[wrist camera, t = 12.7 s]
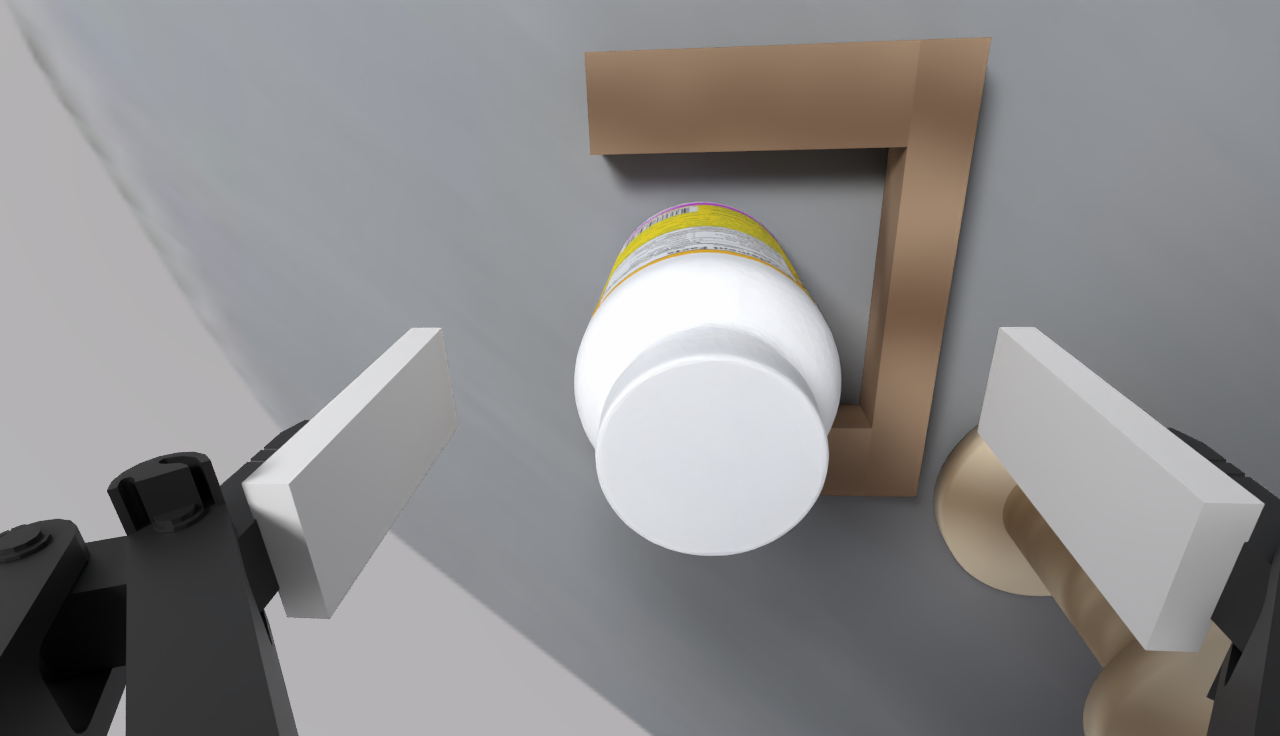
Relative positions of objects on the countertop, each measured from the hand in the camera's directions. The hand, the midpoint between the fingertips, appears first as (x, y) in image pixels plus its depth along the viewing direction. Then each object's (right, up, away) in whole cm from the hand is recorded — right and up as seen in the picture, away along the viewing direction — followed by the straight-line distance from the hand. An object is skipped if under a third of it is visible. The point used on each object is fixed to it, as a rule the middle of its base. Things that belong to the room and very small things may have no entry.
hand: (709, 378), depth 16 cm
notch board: (+3, +3, +9) cm, 10 cm away
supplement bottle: (+1, +3, +9) cm, 10 cm away
